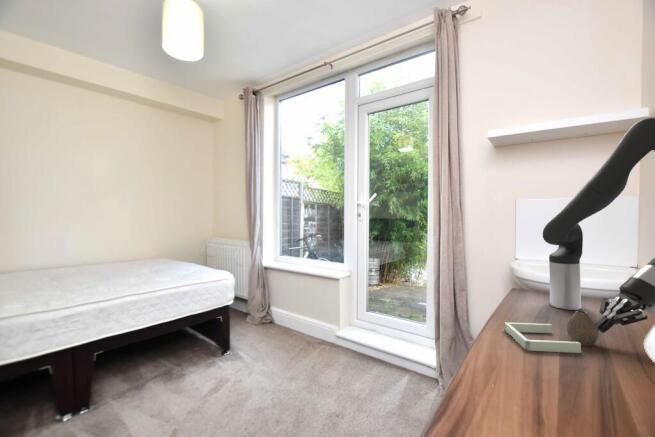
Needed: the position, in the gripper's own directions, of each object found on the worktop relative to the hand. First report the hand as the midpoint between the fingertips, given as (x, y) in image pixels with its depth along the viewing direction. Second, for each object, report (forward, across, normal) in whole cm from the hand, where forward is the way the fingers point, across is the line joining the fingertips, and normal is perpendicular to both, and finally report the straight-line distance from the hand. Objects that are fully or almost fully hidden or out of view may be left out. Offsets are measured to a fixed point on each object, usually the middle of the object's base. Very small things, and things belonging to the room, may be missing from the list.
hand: (598, 329), depth 81 cm
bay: (+13, 0, -7) cm, 15 cm away
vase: (+6, 0, 0) cm, 6 cm away
